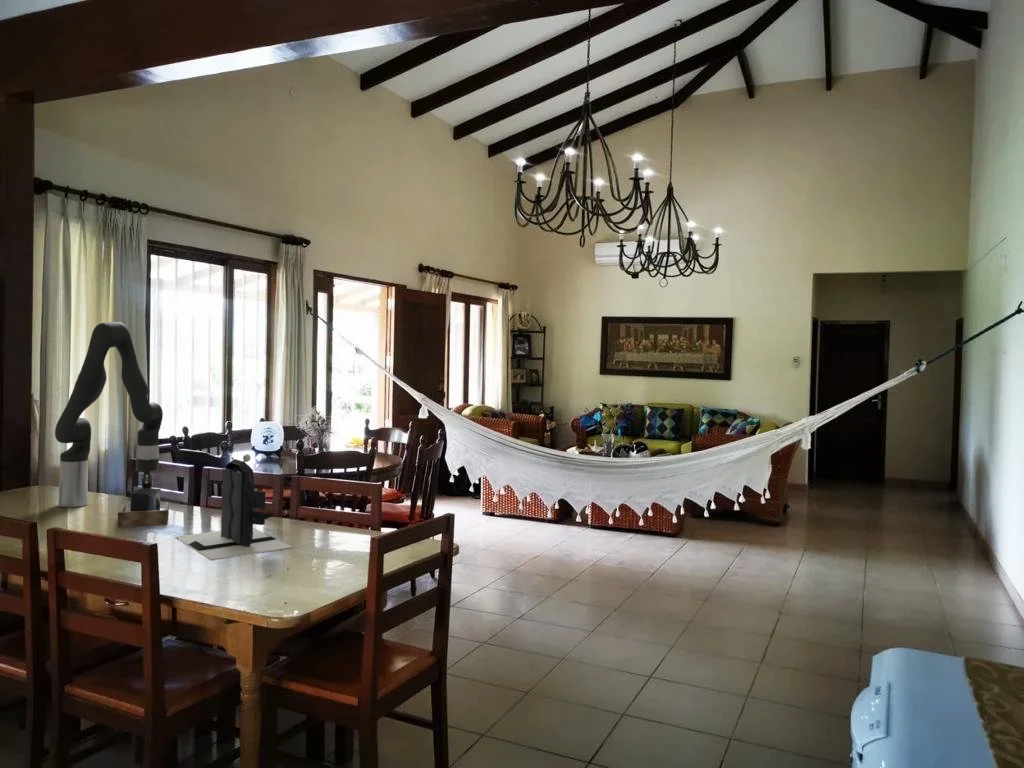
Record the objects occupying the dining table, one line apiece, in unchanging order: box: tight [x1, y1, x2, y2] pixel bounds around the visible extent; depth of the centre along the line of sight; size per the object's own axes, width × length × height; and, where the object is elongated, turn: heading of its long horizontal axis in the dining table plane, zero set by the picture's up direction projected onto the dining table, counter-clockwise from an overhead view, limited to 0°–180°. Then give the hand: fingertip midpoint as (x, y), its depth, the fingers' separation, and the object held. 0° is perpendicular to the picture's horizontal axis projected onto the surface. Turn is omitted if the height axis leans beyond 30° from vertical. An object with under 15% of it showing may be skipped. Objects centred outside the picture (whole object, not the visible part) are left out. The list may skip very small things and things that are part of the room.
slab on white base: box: [175, 453, 293, 561], centre depth 243 cm, size 32×25×28 cm
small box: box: [129, 487, 162, 512], centre depth 270 cm, size 11×6×10 cm, turn 1°
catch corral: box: [117, 501, 170, 528], centre depth 268 cm, size 15×15×5 cm
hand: (146, 503), depth 280 cm, fingers closed
